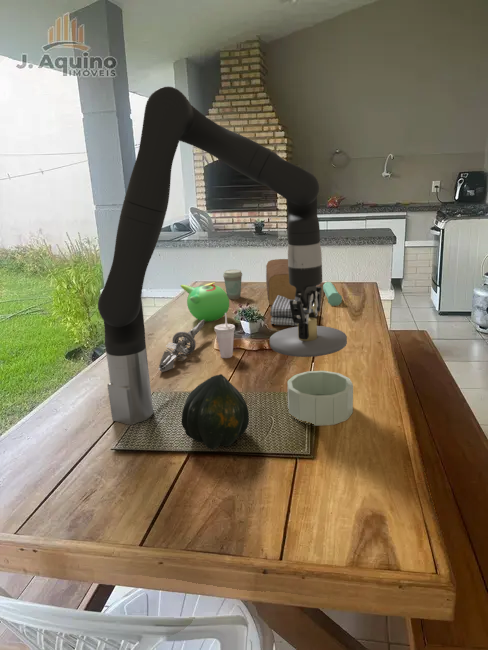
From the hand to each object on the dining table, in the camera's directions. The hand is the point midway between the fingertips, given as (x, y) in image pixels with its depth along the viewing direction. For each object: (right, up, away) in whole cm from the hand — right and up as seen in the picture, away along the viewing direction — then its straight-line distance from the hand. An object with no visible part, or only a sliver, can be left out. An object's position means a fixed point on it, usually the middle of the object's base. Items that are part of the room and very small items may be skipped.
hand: (307, 334), depth 120 cm
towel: (+3, +4, +74) cm, 74 cm away
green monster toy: (-29, +4, +78) cm, 84 cm away
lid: (0, -2, +1) cm, 2 cm away
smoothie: (-20, -8, +41) cm, 46 cm away
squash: (-21, -23, -7) cm, 32 cm away
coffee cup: (-20, +14, +109) cm, 112 cm away
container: (+23, +14, +101) cm, 105 cm away
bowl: (+3, -18, +3) cm, 19 cm away
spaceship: (-34, -7, +44) cm, 56 cm away
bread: (+2, +15, +108) cm, 110 cm away
